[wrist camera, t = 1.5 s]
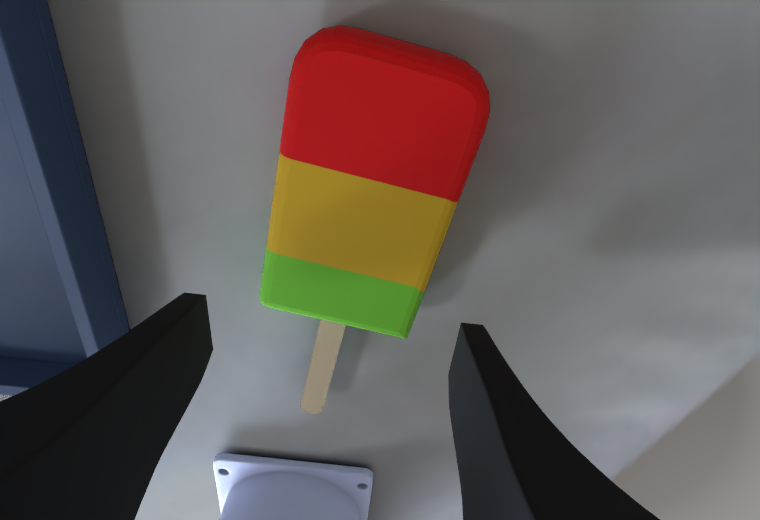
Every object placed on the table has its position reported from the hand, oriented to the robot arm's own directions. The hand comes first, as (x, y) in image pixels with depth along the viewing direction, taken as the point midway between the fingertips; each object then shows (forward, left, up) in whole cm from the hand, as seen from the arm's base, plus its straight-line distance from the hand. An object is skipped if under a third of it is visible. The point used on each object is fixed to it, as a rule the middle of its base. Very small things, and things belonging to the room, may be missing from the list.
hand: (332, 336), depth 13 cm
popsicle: (0, 0, -5) cm, 5 cm away
